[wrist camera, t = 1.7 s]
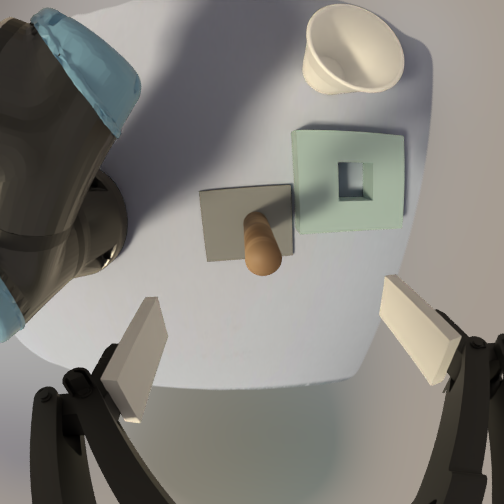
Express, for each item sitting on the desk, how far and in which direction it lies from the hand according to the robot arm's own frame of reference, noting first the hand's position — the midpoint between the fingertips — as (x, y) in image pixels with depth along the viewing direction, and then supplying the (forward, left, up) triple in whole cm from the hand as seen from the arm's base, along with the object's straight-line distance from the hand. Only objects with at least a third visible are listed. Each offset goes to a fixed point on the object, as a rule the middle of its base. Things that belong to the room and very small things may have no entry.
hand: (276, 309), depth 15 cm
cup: (+10, +19, -21) cm, 30 cm away
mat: (-1, 0, -20) cm, 20 cm away
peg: (0, 0, -20) cm, 20 cm away
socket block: (+12, +5, -20) cm, 24 cm away
